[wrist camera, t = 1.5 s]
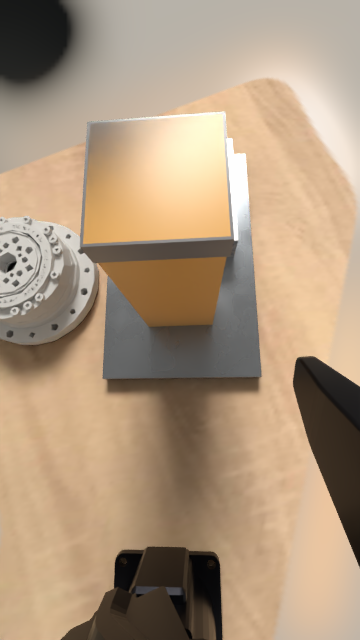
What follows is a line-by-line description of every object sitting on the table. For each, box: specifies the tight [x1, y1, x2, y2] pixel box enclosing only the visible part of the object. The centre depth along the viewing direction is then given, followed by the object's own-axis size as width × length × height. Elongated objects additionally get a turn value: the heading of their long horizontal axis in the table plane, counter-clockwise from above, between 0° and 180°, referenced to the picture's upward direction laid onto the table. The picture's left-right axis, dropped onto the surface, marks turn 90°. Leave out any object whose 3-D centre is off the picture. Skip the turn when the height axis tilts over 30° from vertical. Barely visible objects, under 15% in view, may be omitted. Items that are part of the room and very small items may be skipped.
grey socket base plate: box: [103, 139, 261, 379], centre depth 22 cm, size 18×11×4 cm, turn 1°
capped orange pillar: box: [80, 111, 234, 327], centre depth 16 cm, size 5×5×12 cm
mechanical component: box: [0, 216, 99, 345], centre depth 22 cm, size 10×4×10 cm
